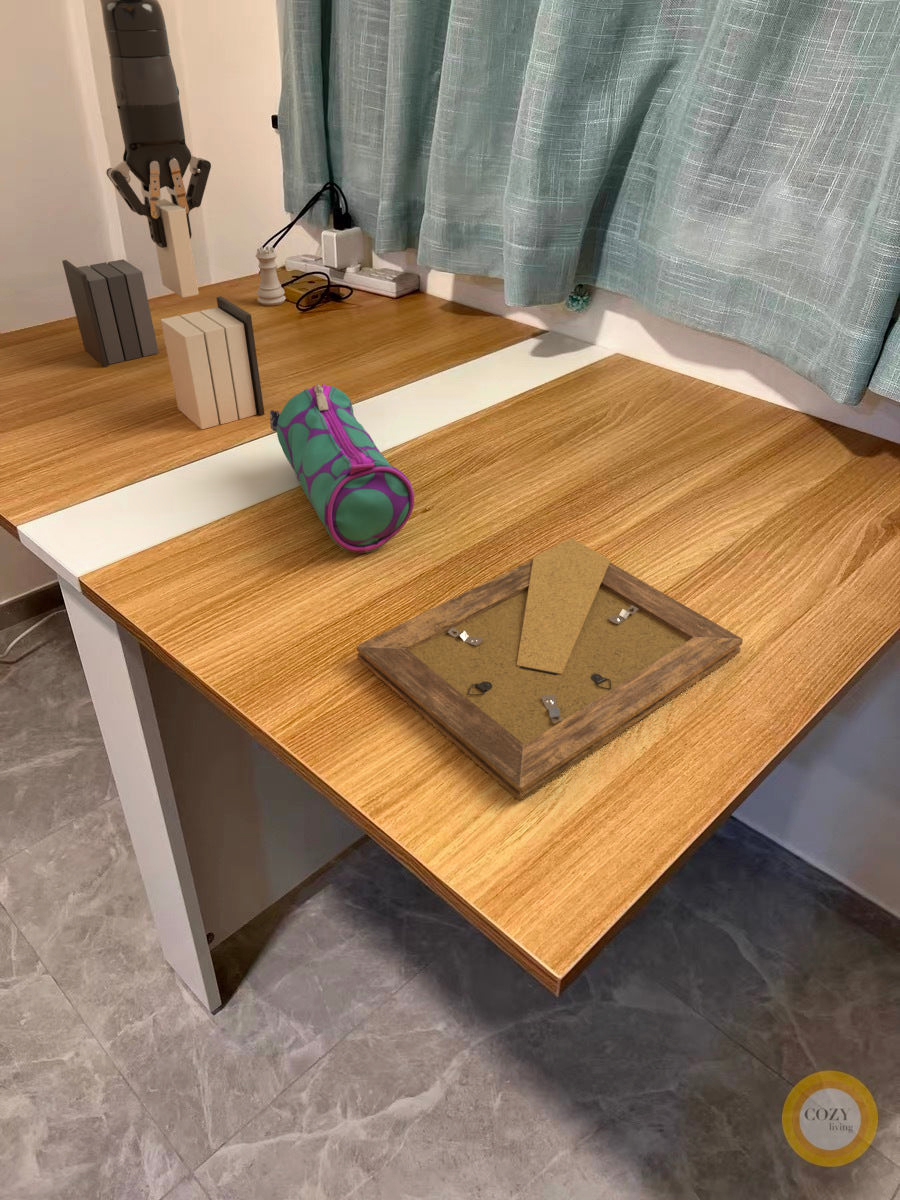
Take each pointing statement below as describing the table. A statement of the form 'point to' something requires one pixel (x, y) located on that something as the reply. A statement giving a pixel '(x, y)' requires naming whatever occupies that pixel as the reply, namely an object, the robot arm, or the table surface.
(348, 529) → the pencil case
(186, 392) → the white books
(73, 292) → the grey books
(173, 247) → the white book
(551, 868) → the table surface
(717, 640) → the picture frame
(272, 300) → the rook chess piece
